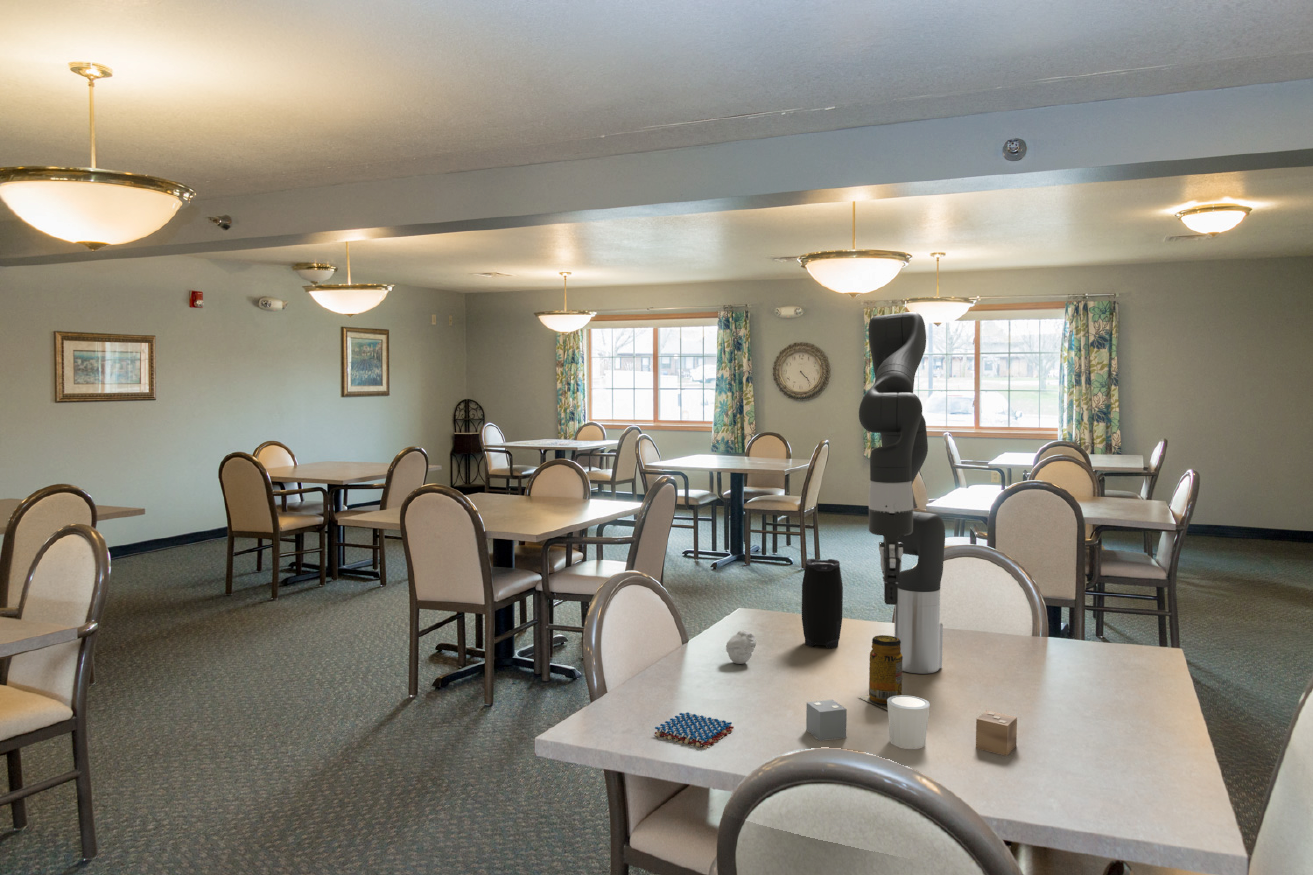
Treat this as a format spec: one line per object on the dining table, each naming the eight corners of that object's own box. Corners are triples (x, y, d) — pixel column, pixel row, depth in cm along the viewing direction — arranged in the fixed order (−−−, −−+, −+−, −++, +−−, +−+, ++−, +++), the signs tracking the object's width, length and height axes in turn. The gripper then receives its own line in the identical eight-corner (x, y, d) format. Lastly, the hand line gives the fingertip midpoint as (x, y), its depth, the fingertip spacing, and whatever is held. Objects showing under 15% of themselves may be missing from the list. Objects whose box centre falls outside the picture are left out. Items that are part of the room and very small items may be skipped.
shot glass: (880, 735, 153) (881, 694, 153) (919, 734, 154) (920, 693, 154) (894, 751, 147) (895, 708, 146) (935, 749, 147) (936, 707, 147)
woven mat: (706, 752, 147) (706, 740, 147) (652, 739, 153) (652, 727, 153) (736, 732, 156) (736, 721, 156) (683, 720, 162) (683, 709, 161)
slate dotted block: (832, 727, 157) (832, 698, 157) (846, 738, 152) (846, 708, 152) (806, 730, 156) (806, 701, 155) (819, 741, 151) (820, 711, 151)
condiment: (887, 692, 176) (888, 631, 175) (918, 706, 168) (919, 642, 167) (857, 698, 172) (858, 636, 172) (887, 712, 165) (888, 647, 164)
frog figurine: (762, 663, 194) (762, 632, 193) (737, 669, 190) (737, 636, 190) (744, 657, 199) (744, 625, 198) (719, 662, 195) (719, 630, 195)
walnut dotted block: (985, 739, 152) (986, 709, 152) (1016, 746, 149) (1017, 716, 149) (975, 748, 148) (976, 718, 148) (1006, 756, 145) (1007, 725, 145)
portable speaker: (794, 641, 211) (795, 559, 210) (828, 637, 215) (829, 556, 214) (814, 651, 203) (815, 565, 203) (849, 647, 207) (850, 562, 206)
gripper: (867, 500, 165) (868, 593, 166) (869, 512, 152) (870, 612, 153) (910, 501, 164) (910, 595, 165) (915, 512, 151) (915, 614, 152)
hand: (890, 603), depth 159 cm, fingers closed
